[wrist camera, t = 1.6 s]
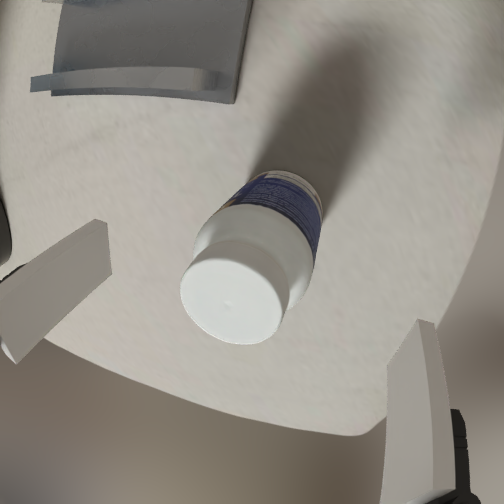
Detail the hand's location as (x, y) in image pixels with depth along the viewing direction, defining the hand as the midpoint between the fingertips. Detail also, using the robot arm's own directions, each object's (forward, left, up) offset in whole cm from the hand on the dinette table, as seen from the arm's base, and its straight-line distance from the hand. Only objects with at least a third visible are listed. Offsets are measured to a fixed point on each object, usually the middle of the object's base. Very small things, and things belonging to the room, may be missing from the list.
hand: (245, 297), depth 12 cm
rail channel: (-12, +11, -9) cm, 19 cm away
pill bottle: (0, 0, -9) cm, 9 cm away
